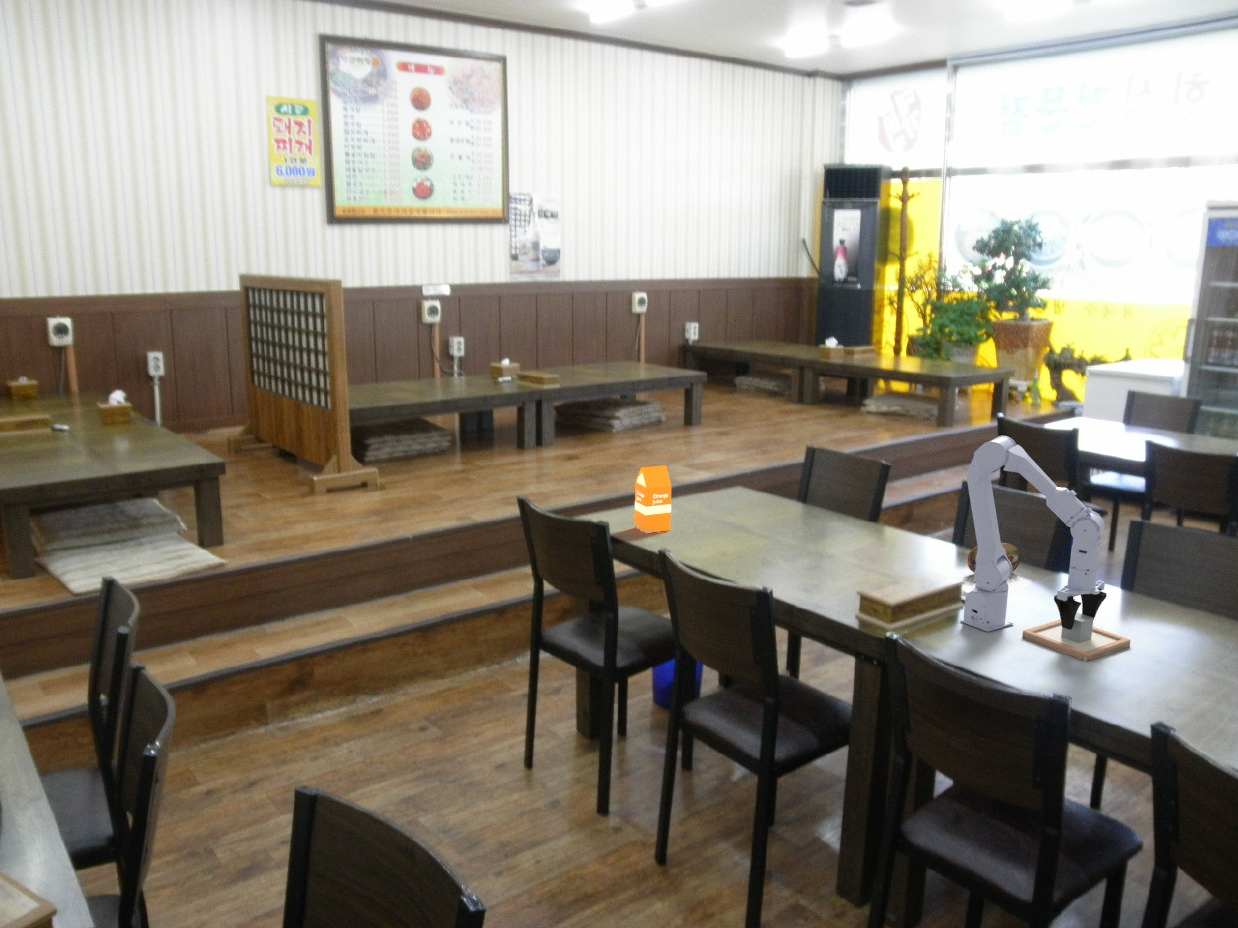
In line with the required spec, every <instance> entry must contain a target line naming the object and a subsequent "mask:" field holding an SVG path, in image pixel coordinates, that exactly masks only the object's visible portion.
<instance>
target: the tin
mask: <svg viewBox="0 0 1238 928" xmlns="http://www.w3.org/2000/svg"><path fill="white" fill-rule="evenodd" d="M1001 545H1002V546H1003V548H1004V549H1005V551H1006V556H1007V558H1008V560H1009V561H1010V562H1011V564H1012V573H1013V572H1014V571H1015V570H1016V569H1017V568H1018V567H1019V565H1020V561H1021V553H1020V550H1019V549H1018V547H1017V546H1016V545H1015V544H1013V543H1008V542H1007V543H1006V542H1001ZM977 551H978V545H976V546H974V547H973V548H972V549H971V550H970V551H969V554H968V557H967V565H968V568H969V570H970V571H971V572H972V573H974V572H975V569H976V555H977Z"/></svg>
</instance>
